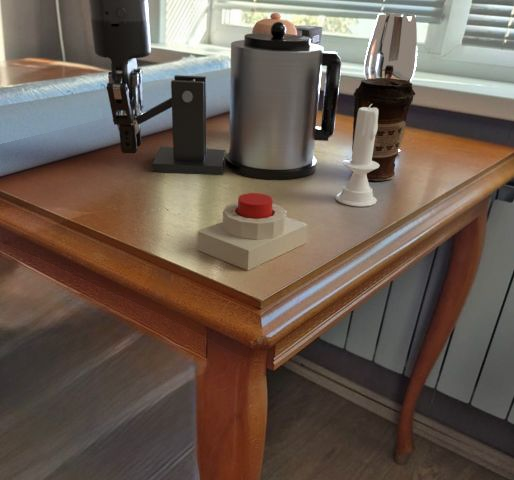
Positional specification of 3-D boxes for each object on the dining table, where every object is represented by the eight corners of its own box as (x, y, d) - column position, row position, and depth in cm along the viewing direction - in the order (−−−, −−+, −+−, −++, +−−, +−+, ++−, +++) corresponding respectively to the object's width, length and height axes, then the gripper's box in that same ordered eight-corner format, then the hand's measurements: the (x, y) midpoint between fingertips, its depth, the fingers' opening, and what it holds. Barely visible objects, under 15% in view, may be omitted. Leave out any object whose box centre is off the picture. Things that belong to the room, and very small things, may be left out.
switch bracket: (152, 172, 86) (147, 82, 80) (160, 154, 94) (157, 71, 88) (222, 174, 87) (223, 86, 80) (225, 157, 94) (226, 75, 88)
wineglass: (373, 142, 106) (392, 11, 95) (410, 152, 101) (434, 16, 90) (344, 149, 101) (360, 12, 90) (381, 160, 97) (403, 17, 86)
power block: (247, 271, 61) (249, 233, 59) (197, 250, 64) (197, 214, 62) (306, 243, 67) (309, 208, 65) (258, 225, 71) (259, 192, 69)
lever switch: (123, 143, 87) (111, 122, 86) (127, 137, 90) (115, 117, 88) (202, 101, 84) (191, 78, 82) (204, 96, 87) (193, 74, 85)
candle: (364, 192, 83) (377, 98, 76) (384, 205, 79) (399, 108, 72) (328, 195, 81) (339, 100, 75) (347, 208, 77) (360, 109, 71)
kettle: (223, 177, 86) (225, 24, 75) (227, 151, 97) (229, 15, 87) (334, 182, 86) (352, 30, 76) (325, 155, 97) (339, 20, 87)
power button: (256, 223, 62) (257, 207, 61) (230, 214, 64) (230, 198, 63) (278, 214, 64) (279, 198, 63) (252, 206, 66) (253, 190, 65)
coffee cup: (410, 185, 86) (428, 87, 79) (354, 185, 85) (367, 86, 78) (389, 167, 94) (403, 75, 87) (337, 167, 92) (347, 74, 85)
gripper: (102, 10, 86) (115, 136, 95) (78, 20, 74) (95, 162, 83) (156, 11, 86) (163, 137, 95) (139, 21, 74) (150, 163, 83)
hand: (131, 148), depth 89 cm, fingers closed on lever switch, 3 cm apart
